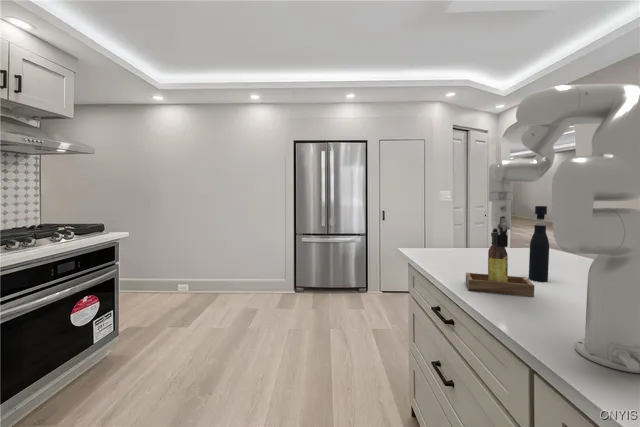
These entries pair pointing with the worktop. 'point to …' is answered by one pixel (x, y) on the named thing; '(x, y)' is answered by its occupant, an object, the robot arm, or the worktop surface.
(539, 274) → the wine bottle
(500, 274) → the sauce bottle
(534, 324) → the worktop surface
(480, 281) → the bottle tray
